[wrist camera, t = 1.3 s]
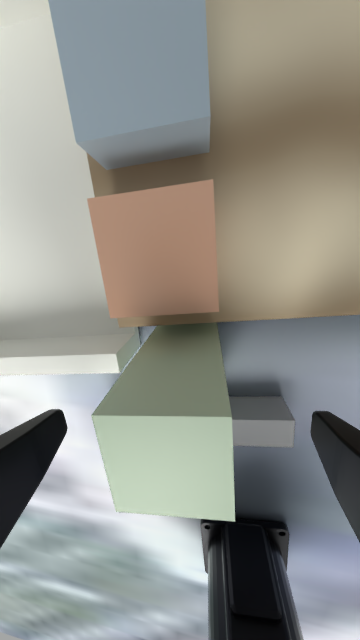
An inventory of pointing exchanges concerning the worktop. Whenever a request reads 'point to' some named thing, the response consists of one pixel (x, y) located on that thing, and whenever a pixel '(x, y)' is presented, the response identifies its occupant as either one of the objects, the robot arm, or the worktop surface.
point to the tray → (47, 216)
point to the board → (274, 161)
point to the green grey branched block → (181, 427)
